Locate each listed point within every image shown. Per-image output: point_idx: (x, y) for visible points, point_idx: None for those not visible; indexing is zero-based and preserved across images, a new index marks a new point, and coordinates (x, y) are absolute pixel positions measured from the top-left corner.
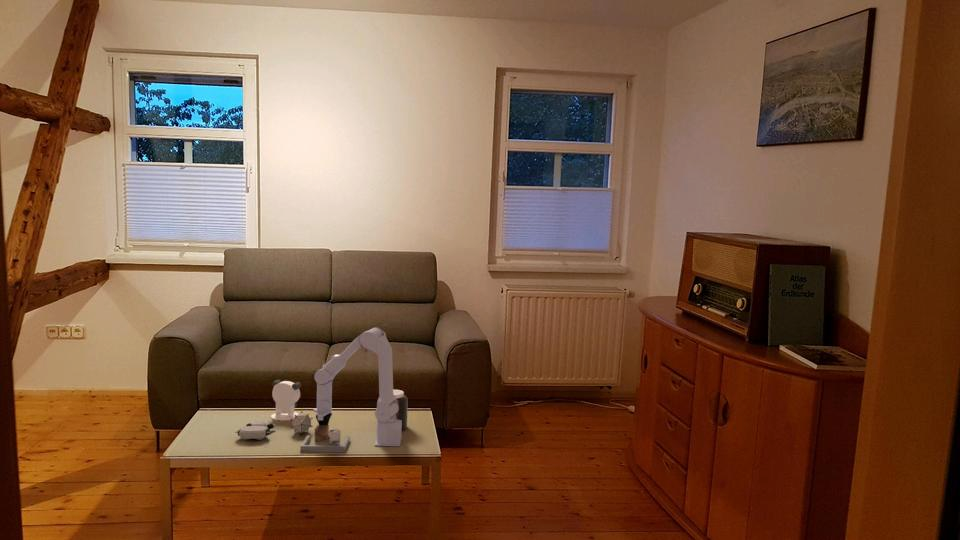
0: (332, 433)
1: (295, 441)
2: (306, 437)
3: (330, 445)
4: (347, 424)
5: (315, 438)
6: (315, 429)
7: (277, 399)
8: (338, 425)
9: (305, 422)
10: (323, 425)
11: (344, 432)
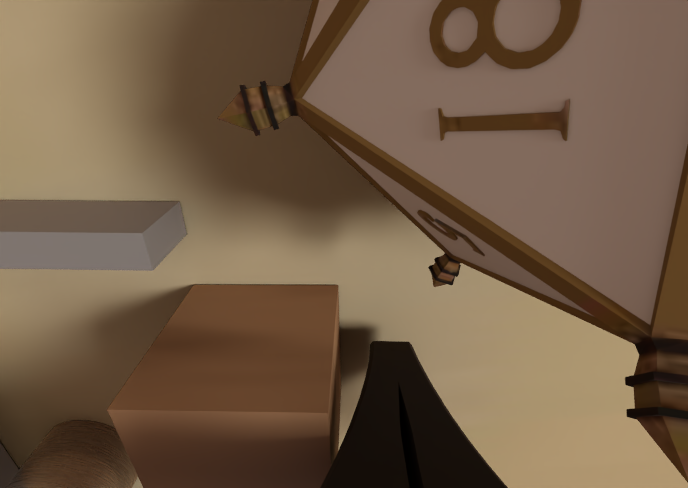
0: None
1: (85, 29)
2: (45, 239)
3: (29, 457)
4: (676, 478)
5: (185, 309)
6: (117, 411)
7: None
8: None
9: (413, 199)
10: (314, 485)
11: None
